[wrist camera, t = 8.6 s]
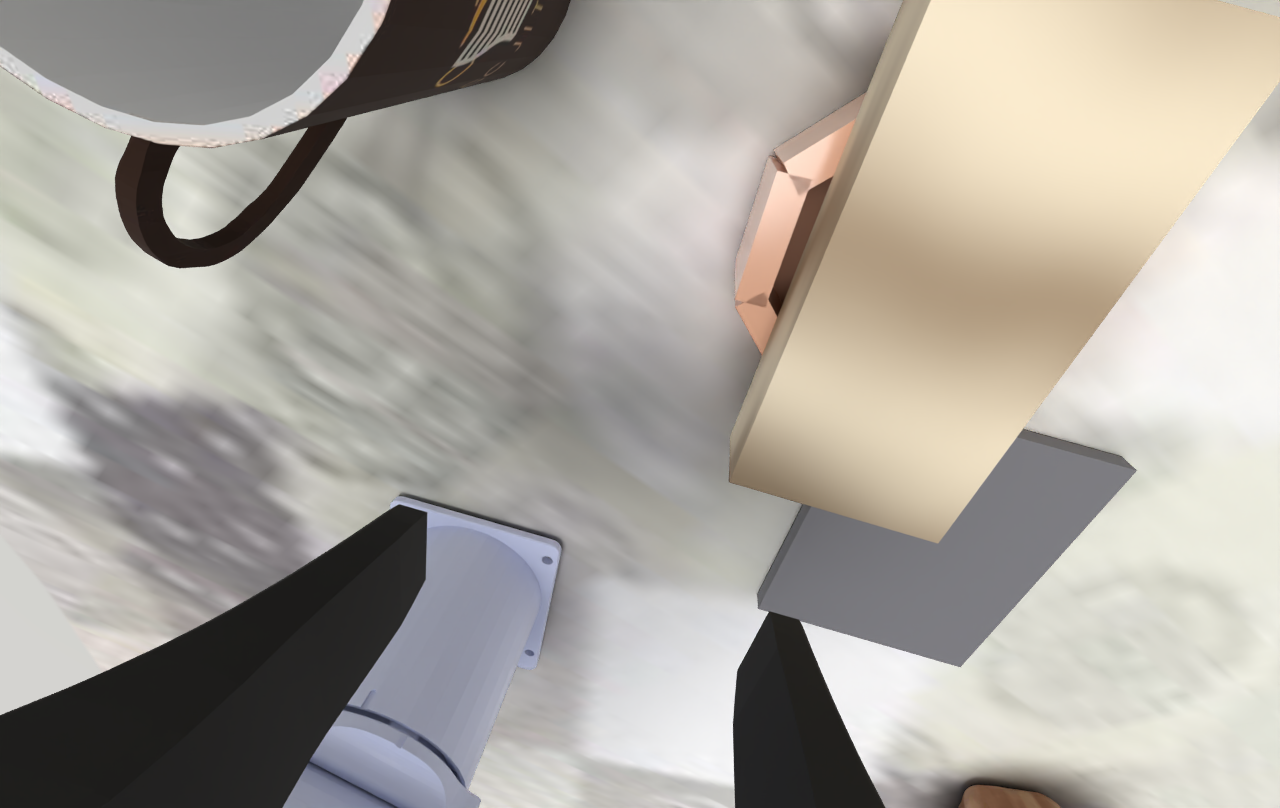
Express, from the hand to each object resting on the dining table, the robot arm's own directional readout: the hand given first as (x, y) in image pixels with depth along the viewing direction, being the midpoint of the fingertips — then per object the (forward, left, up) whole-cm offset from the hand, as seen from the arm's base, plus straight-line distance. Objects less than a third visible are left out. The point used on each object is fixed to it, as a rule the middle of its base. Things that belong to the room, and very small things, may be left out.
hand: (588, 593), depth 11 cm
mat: (-4, -12, -10) cm, 16 cm away
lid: (+6, -5, -6) cm, 10 cm away
